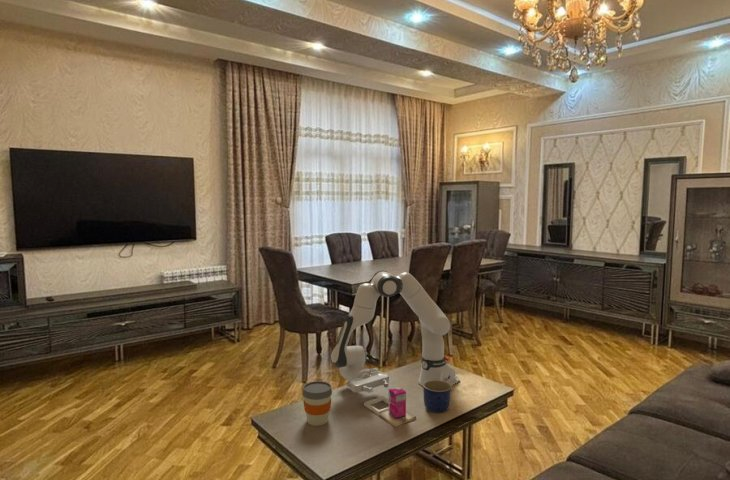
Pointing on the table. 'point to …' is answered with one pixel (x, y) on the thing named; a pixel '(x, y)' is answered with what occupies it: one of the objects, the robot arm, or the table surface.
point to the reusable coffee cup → (317, 402)
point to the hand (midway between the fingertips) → (379, 388)
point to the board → (397, 421)
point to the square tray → (368, 403)
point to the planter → (437, 395)
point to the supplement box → (397, 402)
